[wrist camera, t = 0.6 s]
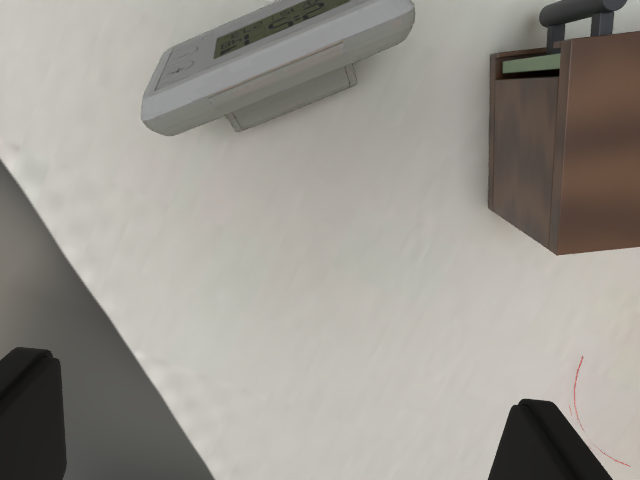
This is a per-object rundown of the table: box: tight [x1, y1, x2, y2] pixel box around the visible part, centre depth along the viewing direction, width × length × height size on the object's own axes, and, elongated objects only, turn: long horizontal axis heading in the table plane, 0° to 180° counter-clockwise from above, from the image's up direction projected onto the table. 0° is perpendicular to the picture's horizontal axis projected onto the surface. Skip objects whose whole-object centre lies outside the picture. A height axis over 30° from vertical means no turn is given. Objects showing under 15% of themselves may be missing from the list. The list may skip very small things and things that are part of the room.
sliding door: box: [503, 0, 627, 73], centre depth 28 cm, size 4×9×8 cm, turn 96°
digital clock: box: [141, 0, 415, 136], centre depth 28 cm, size 16×9×11 cm, turn 100°
